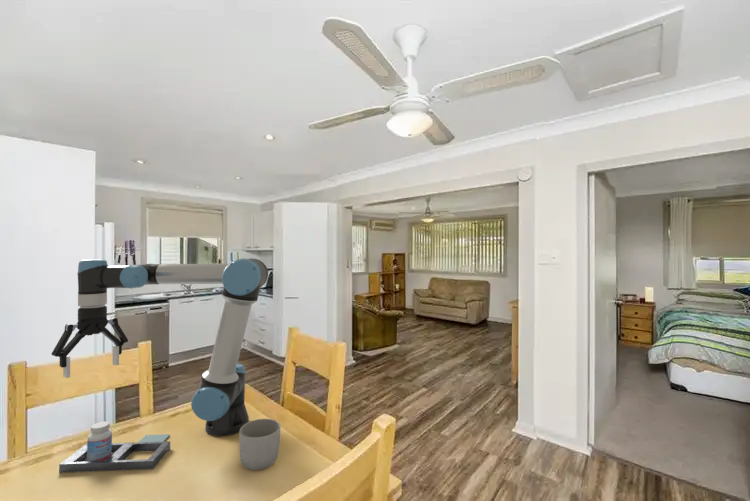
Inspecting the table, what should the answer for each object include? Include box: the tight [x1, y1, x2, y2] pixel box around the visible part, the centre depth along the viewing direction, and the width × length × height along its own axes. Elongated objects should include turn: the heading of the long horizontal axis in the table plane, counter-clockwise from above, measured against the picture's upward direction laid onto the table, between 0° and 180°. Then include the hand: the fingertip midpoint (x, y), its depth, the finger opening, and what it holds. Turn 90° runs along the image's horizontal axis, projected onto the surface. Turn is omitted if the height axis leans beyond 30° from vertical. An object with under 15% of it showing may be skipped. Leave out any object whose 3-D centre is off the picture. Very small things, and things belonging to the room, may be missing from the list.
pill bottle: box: [86, 421, 113, 461], centre depth 109 cm, size 6×6×11 cm
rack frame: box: [58, 440, 171, 474], centre depth 110 cm, size 26×11×2 cm, turn 96°
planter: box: [238, 418, 281, 471], centre depth 110 cm, size 12×12×11 cm
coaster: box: [138, 433, 171, 442], centre depth 120 cm, size 8×8×1 cm
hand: (92, 370), depth 116 cm, fingers open, 13 cm apart
